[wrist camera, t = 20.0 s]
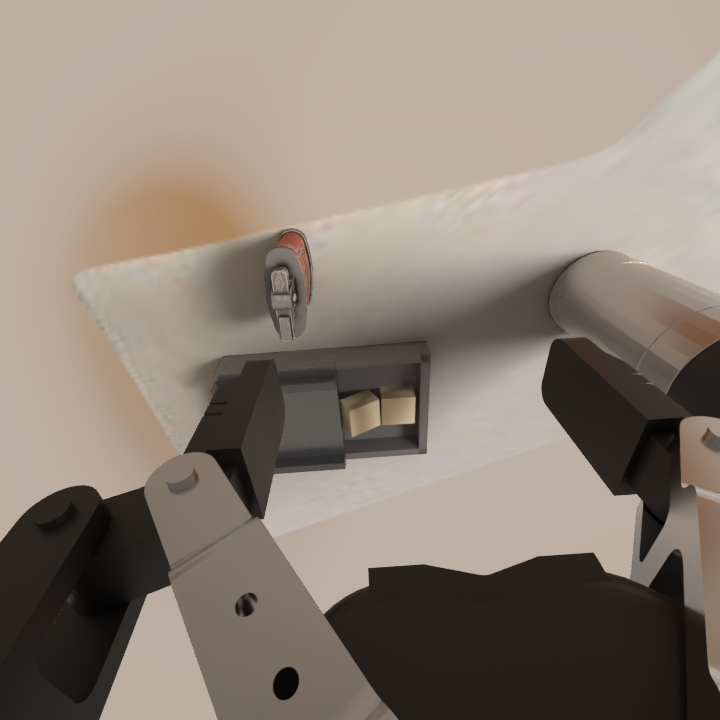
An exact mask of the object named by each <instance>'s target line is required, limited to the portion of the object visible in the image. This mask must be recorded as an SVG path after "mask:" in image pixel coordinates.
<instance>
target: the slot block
mask: <svg viewBox="0 0 720 720" xmlns="http://www.w3.org/2000/svg"><path fill="white" fill-rule="evenodd" d="M334 357H335V348H328V349H315V350H301V351H288V352H274V353H260V354H247V355H233V356H223V358H222V360H221V362H220V364H219V365H218V367H217V369H216V371H215V372H214V374H213V377H214V380H215V385H214V386H213V388H212V390H211V392H212V395H213V396H214V394H215V392H216V390H218V389H219V388H220V387H221V386H222V385H223V384H224V383H226V382H227V381H228V380H229V379H238V378H239V376H240V373H241V371H242V369H243V367H244V365H245V363H246V361H253V360H266V359H273V360H274V361H275V364H276V367H277V372H278V376H279V381H280V385H281V390H282V394H283V399H284V404H285V423H284V428H283V432H282V437H281V442H280V446H279V451H278V455H277V460H276V465H275V469H274V474H279V473H293V472H307V471H321V470H335V469H345V465H346V454H345V432H344V427H343V426H342V417H341V408H340V400H341V398H340V389H339V381H338V372H337V369H335V363H334Z"/></svg>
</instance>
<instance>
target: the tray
mask: <svg viewBox="0 0 720 720" xmlns="http://www.w3.org/2000/svg"><path fill="white" fill-rule="evenodd" d="M334 363H335V369H337V372H338V381H339V389H340V398H341V399H344V398H347V397H349V396H352V395H354V394H357V393H360V392H362V391H365V390H367V389H369V390H370V391H371V392H372V393H373V394H374V395H375V396H376V397H377V398H378V399H379V404H380V387H385V386H402V385H412V386H413V389H414V393H415V397H416V399H415V423H412V424H395V425H382V421H381V413H380V426H377V427H375V428H373V429H370V430H368V431H366V432H364V433H361V434H359V435H357V436H354V437H351V436H350V434H349V433H348V432H347V431H346V429H345V428H344V432H345V454H346V459H357V458H371V457H385V456H399V455H413V454H427V429H428V403H429V378H430V352H429V349H428V347H427V344H426V342H425V341H423V342H410V343H396V344H382V345H369V346H355V347H342V348H335V357H334Z"/></svg>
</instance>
